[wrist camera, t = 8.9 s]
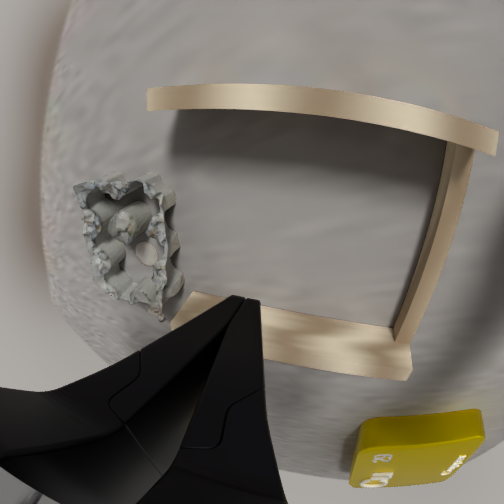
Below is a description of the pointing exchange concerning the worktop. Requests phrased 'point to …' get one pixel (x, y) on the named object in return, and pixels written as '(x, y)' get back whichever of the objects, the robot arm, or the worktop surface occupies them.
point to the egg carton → (130, 238)
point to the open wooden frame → (433, 252)
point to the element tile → (414, 448)
